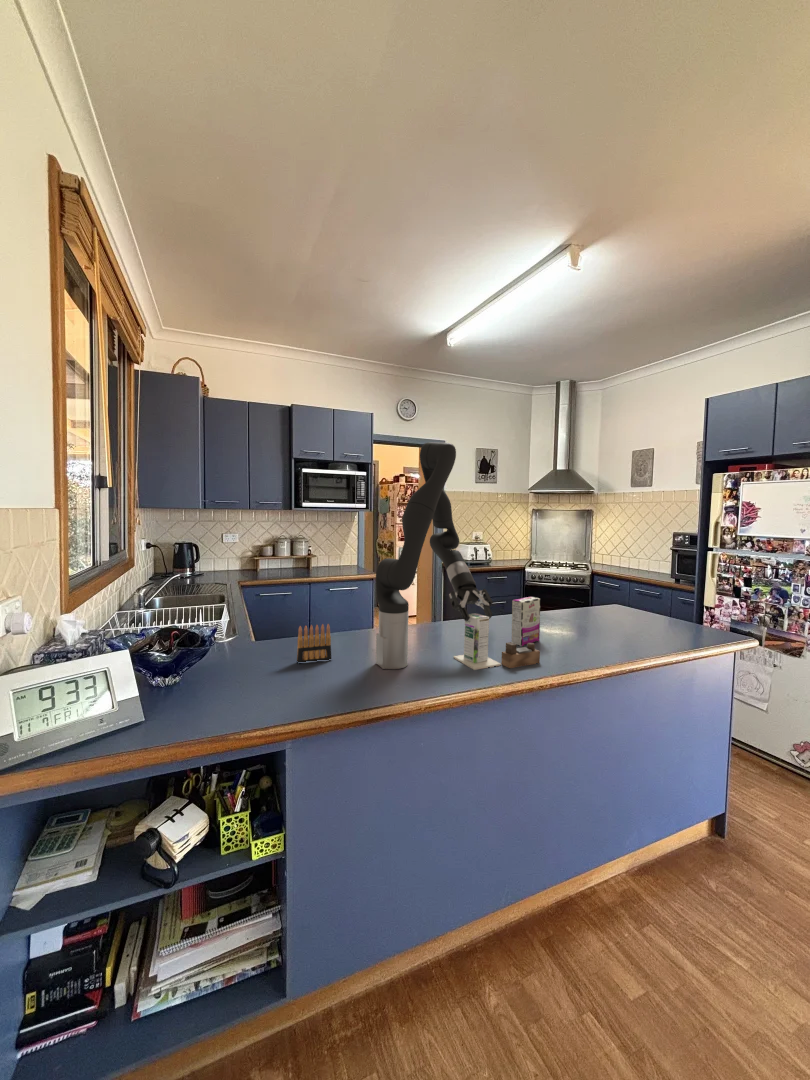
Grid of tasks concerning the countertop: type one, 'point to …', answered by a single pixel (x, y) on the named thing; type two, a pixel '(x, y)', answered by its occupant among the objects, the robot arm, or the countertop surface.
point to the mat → (476, 666)
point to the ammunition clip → (314, 644)
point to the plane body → (520, 655)
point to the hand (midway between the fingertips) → (479, 618)
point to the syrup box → (476, 638)
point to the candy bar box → (525, 620)
